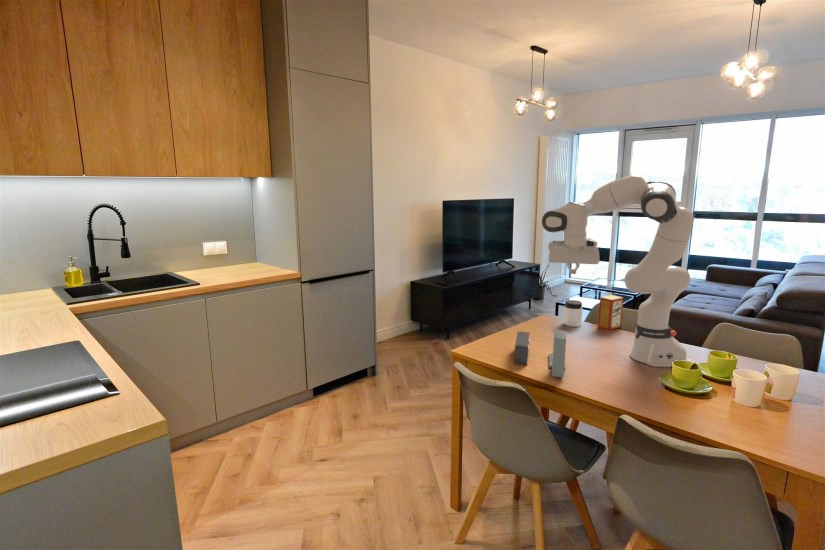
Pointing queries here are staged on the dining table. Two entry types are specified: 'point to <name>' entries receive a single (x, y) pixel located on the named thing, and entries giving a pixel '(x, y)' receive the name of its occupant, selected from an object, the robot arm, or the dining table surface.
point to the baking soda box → (610, 312)
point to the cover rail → (551, 361)
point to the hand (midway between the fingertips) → (572, 273)
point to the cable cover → (558, 353)
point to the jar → (572, 313)
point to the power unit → (522, 348)
